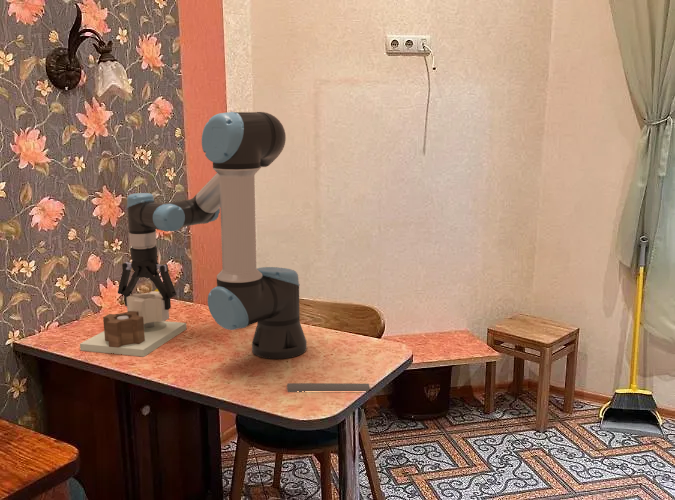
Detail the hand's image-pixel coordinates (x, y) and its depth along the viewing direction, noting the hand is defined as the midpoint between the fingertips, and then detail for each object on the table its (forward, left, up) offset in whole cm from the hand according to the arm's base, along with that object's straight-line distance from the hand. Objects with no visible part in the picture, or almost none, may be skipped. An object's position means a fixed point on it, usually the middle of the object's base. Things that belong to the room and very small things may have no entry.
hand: (148, 318), depth 199 cm
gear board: (+1, +6, -5) cm, 8 cm away
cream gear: (0, 0, 0) cm, 0 cm away
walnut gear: (0, +13, -3) cm, 13 cm away
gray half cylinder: (-64, +26, -5) cm, 69 cm away
